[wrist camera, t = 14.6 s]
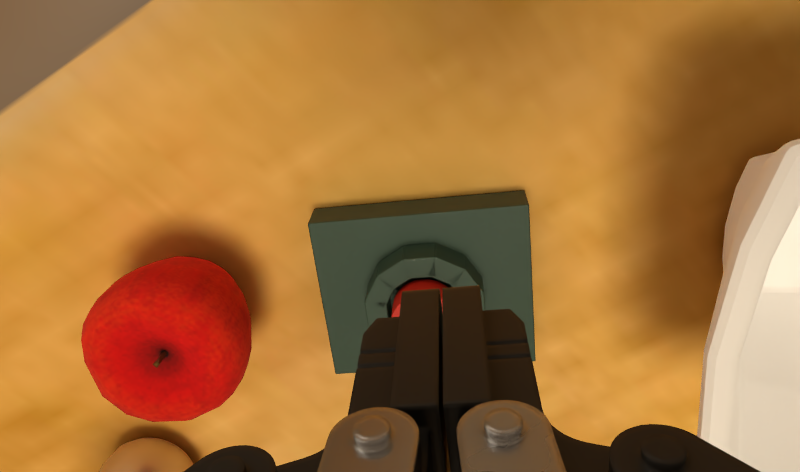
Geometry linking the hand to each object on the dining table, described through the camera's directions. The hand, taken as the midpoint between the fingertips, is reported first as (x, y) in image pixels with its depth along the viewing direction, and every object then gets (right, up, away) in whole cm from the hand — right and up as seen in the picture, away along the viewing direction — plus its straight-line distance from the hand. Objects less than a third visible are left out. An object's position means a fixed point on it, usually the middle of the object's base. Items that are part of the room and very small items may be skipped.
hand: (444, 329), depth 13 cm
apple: (-13, -2, +29) cm, 32 cm away
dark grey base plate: (+1, -1, +28) cm, 28 cm away
